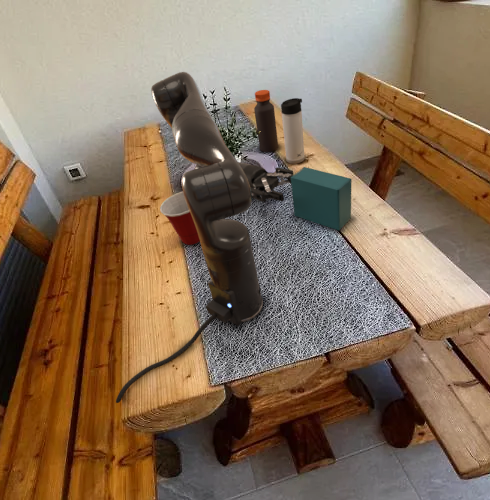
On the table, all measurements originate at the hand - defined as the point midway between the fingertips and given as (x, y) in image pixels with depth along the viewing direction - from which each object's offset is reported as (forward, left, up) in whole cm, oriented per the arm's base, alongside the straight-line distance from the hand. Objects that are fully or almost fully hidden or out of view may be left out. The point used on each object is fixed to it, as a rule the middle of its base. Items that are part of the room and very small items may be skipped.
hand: (292, 190), depth 106 cm
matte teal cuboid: (0, -9, -6) cm, 11 cm away
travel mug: (+24, +16, -6) cm, 30 cm away
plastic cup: (-25, +16, -6) cm, 30 cm away
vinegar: (+27, +30, -6) cm, 41 cm away
